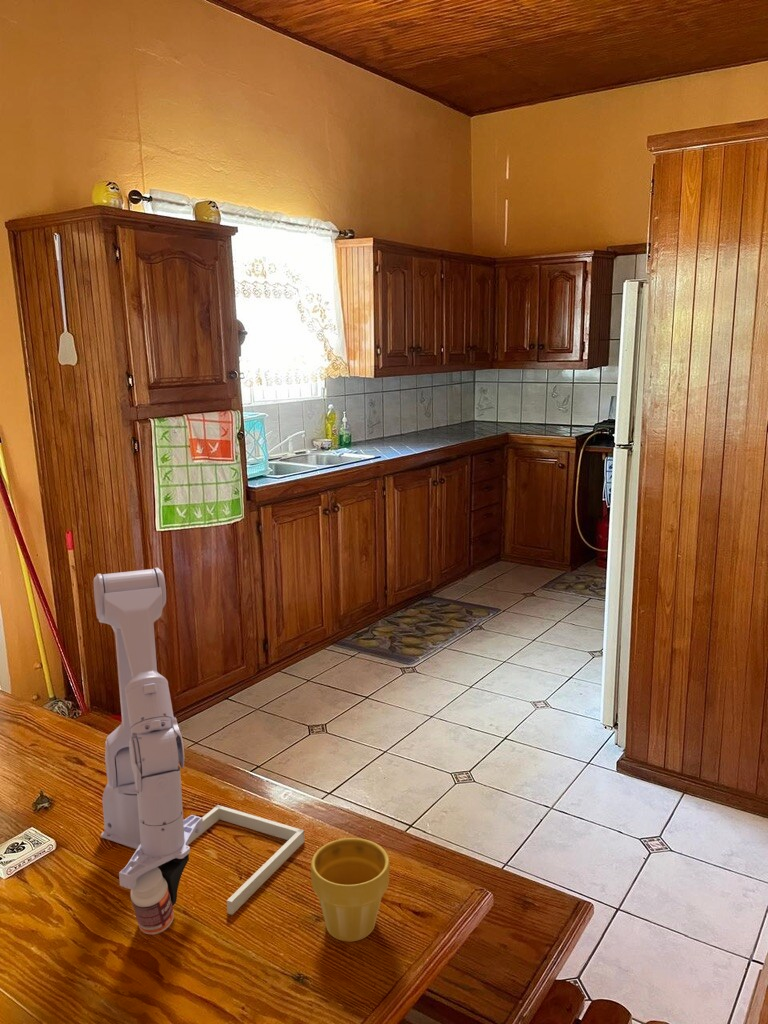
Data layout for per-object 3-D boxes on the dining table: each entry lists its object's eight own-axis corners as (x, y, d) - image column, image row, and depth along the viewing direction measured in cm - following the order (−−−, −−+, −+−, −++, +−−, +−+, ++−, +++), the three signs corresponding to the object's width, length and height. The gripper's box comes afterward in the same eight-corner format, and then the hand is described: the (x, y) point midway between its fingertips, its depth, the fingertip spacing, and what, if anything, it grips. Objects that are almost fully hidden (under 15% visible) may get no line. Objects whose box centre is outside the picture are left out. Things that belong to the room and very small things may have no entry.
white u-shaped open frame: (138, 880, 117) (137, 868, 116) (218, 815, 133) (217, 804, 133) (232, 915, 109) (231, 902, 109) (304, 841, 126) (304, 830, 125)
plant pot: (380, 958, 101) (380, 890, 99) (302, 947, 103) (301, 879, 102) (395, 905, 111) (395, 841, 109) (324, 895, 113) (323, 833, 111)
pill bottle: (173, 932, 106) (163, 890, 102) (136, 938, 105) (125, 897, 101) (175, 900, 110) (165, 859, 106) (140, 906, 109) (129, 865, 106)
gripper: (146, 851, 99) (153, 947, 101) (218, 794, 112) (222, 880, 114) (103, 837, 102) (111, 931, 104) (178, 783, 115) (183, 867, 117)
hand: (167, 903), depth 110 cm, fingers closed, pressing on pill bottle
